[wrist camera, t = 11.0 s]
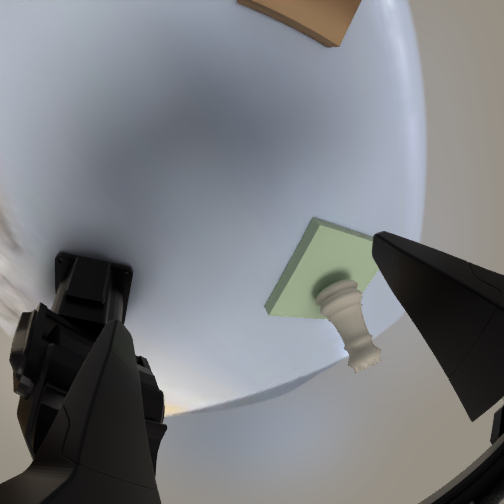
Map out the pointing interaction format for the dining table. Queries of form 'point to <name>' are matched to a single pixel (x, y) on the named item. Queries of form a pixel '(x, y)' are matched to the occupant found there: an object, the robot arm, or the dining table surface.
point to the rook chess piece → (349, 322)
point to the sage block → (321, 268)
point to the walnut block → (311, 16)
